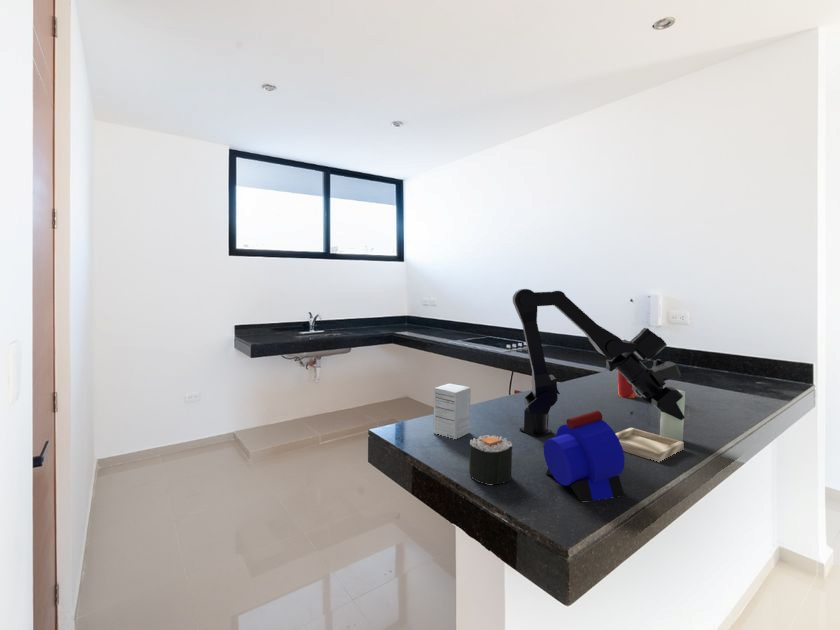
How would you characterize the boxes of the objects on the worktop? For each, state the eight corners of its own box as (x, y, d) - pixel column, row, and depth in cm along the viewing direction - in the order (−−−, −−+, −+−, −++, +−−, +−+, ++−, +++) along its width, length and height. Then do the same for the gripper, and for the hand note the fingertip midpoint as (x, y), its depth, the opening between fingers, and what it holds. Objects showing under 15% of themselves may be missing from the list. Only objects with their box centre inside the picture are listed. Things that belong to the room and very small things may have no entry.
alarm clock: (627, 496, 79) (631, 419, 78) (572, 505, 76) (575, 424, 75) (585, 469, 91) (587, 401, 90) (535, 475, 87) (538, 405, 86)
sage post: (677, 445, 106) (680, 394, 105) (655, 438, 110) (658, 390, 109) (686, 440, 109) (688, 391, 108) (665, 434, 113) (667, 387, 112)
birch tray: (658, 462, 95) (659, 453, 95) (604, 444, 105) (605, 436, 105) (683, 450, 102) (684, 442, 102) (630, 434, 113) (631, 427, 113)
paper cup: (642, 399, 150) (644, 360, 149) (621, 398, 150) (622, 360, 149) (631, 393, 158) (633, 357, 157) (611, 393, 158) (613, 356, 157)
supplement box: (448, 426, 117) (449, 382, 116) (470, 433, 112) (471, 387, 112) (432, 433, 111) (433, 387, 111) (455, 440, 107) (456, 392, 106)
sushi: (518, 478, 86) (519, 440, 85) (489, 489, 81) (490, 449, 80) (490, 464, 92) (491, 429, 92) (461, 473, 88) (462, 436, 87)
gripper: (675, 357, 99) (723, 405, 98) (645, 346, 118) (685, 387, 117) (638, 388, 101) (685, 435, 100) (615, 372, 119) (654, 412, 118)
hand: (678, 415), depth 109 cm, fingers closed on sage post, 5 cm apart
